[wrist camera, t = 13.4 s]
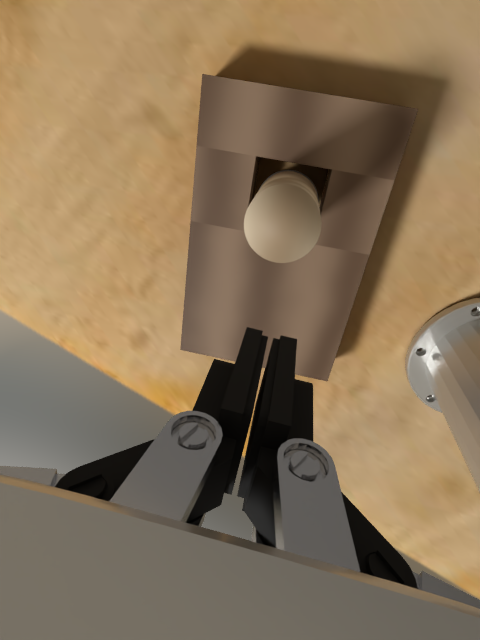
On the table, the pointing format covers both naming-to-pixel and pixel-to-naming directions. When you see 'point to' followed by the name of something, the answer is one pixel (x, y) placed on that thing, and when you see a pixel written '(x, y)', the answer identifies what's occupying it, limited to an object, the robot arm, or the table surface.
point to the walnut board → (335, 208)
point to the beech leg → (284, 217)
